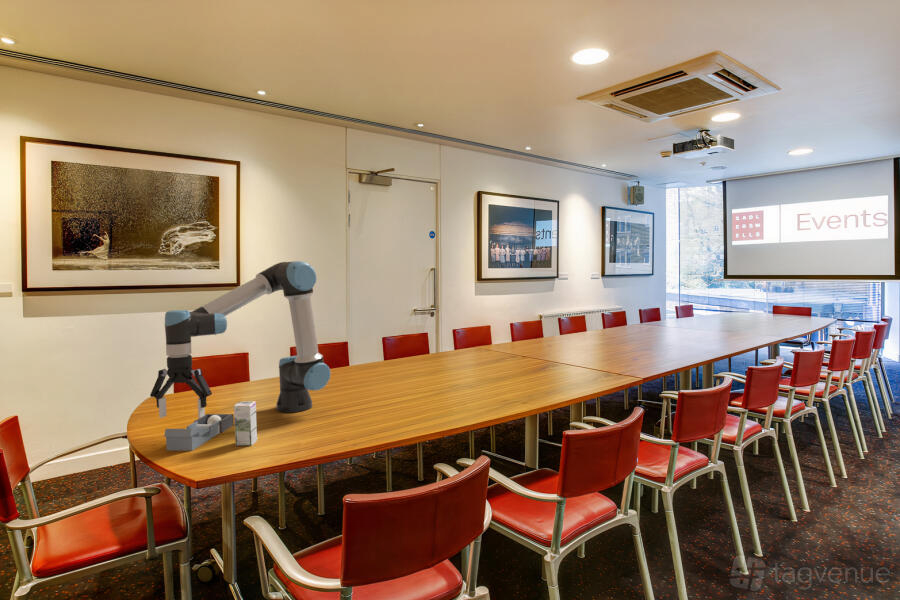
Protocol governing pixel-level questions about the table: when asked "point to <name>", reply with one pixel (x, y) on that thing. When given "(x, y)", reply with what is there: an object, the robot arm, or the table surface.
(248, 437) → the syrup box
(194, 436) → the launch ramp
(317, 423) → the table surface
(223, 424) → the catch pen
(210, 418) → the pale rubber ball
